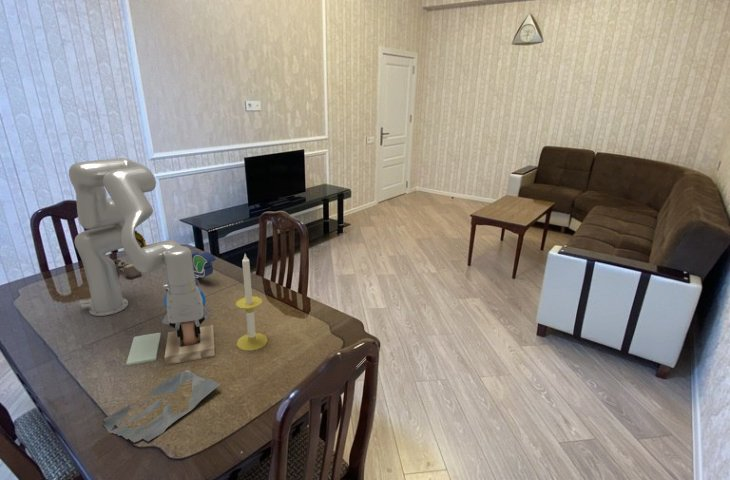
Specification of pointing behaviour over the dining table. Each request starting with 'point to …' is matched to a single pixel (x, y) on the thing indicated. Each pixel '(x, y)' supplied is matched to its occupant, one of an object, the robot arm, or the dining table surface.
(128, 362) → the mat
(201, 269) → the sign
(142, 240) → the shrine
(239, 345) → the candle
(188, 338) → the peg
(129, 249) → the robot arm
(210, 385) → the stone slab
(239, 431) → the dining table surface
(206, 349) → the pocket frame
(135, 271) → the toy
